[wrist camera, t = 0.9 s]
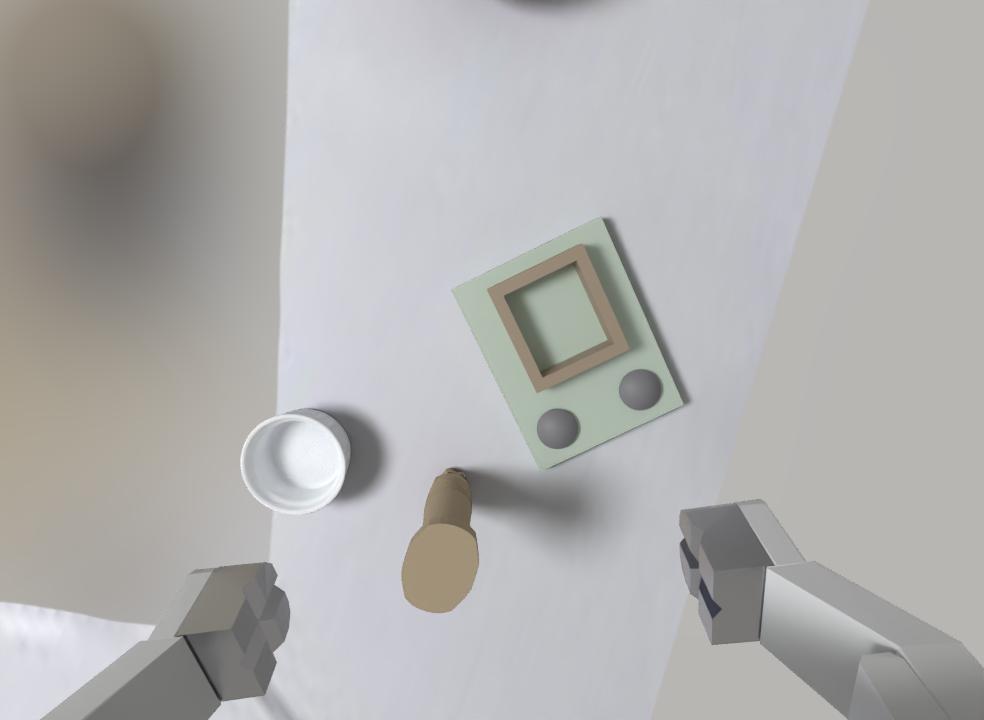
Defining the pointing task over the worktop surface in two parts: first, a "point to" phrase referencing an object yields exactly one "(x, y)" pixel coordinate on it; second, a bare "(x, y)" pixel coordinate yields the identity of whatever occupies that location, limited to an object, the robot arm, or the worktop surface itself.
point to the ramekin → (296, 461)
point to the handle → (442, 548)
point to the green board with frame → (568, 344)
